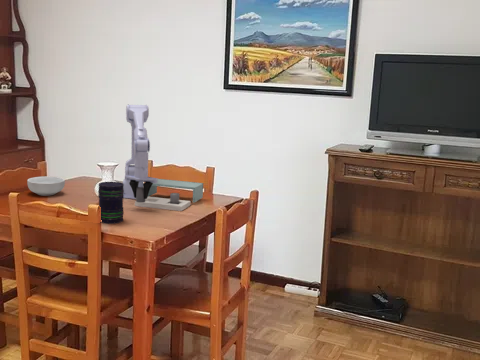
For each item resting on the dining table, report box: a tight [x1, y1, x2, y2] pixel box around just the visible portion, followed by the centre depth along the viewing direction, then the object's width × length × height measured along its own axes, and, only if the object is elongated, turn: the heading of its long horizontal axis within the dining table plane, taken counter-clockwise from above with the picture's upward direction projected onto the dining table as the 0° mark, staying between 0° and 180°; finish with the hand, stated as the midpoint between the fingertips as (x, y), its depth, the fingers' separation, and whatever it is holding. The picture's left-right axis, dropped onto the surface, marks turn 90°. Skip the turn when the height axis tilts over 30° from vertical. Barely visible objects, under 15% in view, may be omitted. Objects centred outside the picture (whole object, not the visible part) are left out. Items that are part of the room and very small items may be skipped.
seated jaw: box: [169, 192, 180, 204], centre depth 254 cm, size 4×4×6 cm
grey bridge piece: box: [148, 178, 204, 203], centre depth 269 cm, size 25×12×7 cm, turn 76°
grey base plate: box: [134, 196, 191, 212], centre depth 256 cm, size 22×12×2 cm, turn 76°
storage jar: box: [97, 181, 125, 225], centre depth 225 cm, size 10×10×15 cm
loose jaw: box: [135, 186, 145, 202], centre depth 246 cm, size 4×4×6 cm
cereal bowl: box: [27, 175, 66, 197], centre depth 267 cm, size 17×17×7 cm
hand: (140, 197), depth 246 cm, fingers closed on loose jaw, 4 cm apart
